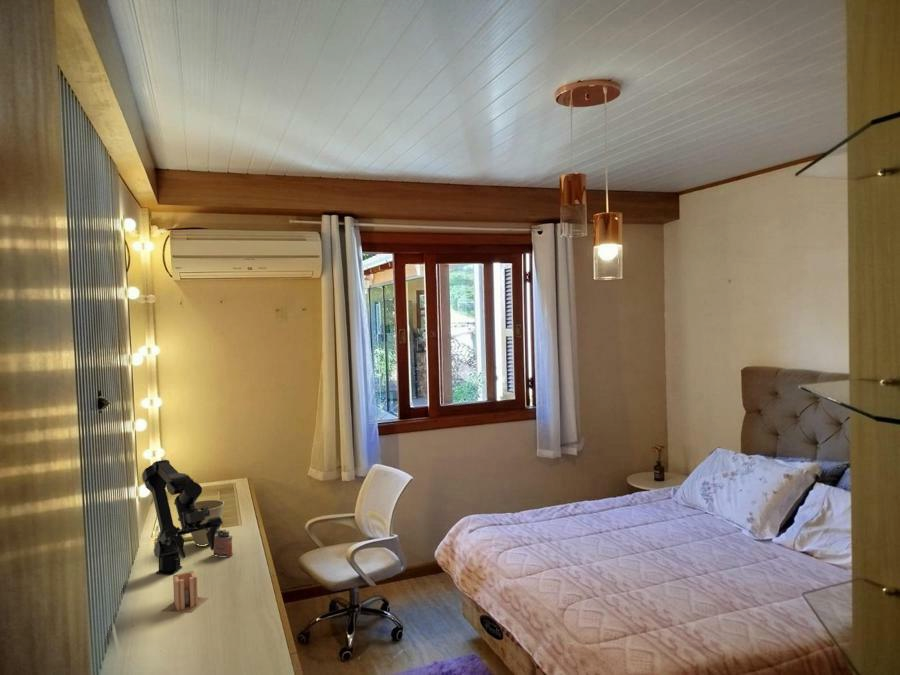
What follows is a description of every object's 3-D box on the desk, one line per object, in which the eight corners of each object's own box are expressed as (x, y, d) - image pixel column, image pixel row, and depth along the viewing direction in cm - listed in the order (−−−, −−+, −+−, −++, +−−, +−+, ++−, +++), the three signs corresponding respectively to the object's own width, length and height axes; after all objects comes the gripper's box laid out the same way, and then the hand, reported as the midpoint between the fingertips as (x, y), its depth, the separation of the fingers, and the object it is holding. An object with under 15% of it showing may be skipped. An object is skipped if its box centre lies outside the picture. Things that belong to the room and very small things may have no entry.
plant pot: (216, 550, 240) (215, 510, 240) (179, 550, 241) (178, 510, 240) (230, 536, 255) (229, 499, 255) (196, 537, 256) (194, 499, 255)
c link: (174, 603, 193) (173, 575, 193) (194, 598, 197) (193, 570, 196) (177, 610, 188) (176, 581, 188) (197, 605, 192) (197, 577, 191)
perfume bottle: (234, 554, 235) (234, 529, 235) (229, 557, 232) (228, 532, 232) (217, 552, 237) (216, 527, 237) (211, 556, 234) (210, 530, 234)
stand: (161, 613, 188) (161, 596, 188) (181, 598, 198) (180, 582, 198) (191, 615, 187) (190, 598, 187) (209, 600, 197) (208, 584, 196)
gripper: (164, 506, 195) (176, 552, 189) (221, 494, 208) (234, 536, 202) (155, 521, 202) (166, 565, 195) (211, 508, 215) (223, 549, 208)
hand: (198, 554), depth 200 cm, fingers open, 9 cm apart
